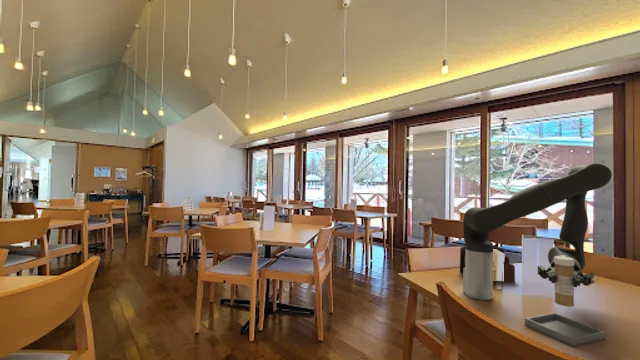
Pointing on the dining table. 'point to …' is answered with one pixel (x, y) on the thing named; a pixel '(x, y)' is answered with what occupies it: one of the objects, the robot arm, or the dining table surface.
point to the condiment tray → (565, 329)
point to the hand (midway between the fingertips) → (564, 281)
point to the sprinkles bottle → (564, 281)
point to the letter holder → (508, 268)
